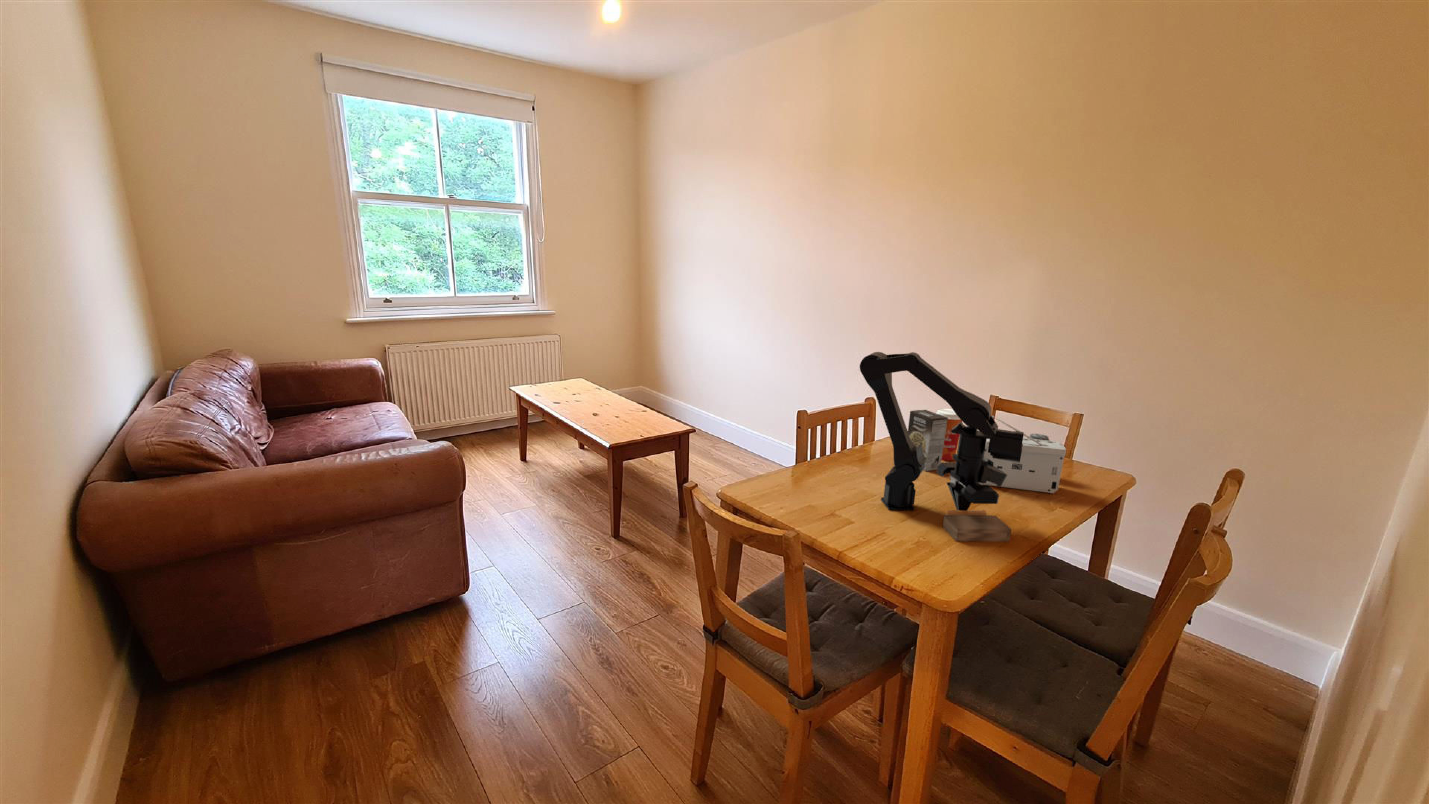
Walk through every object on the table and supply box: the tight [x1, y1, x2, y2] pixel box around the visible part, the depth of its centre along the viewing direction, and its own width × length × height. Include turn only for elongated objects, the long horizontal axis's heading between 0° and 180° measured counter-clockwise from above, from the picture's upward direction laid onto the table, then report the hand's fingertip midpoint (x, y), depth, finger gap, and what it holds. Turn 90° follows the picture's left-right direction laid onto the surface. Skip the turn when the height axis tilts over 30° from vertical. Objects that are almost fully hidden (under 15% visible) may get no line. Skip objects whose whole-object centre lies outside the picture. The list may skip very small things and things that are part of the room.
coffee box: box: [907, 409, 948, 472], centre depth 170 cm, size 9×6×16 cm
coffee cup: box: [935, 408, 963, 462], centre depth 177 cm, size 8×8×15 cm
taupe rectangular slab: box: [942, 514, 1012, 543], centre depth 128 cm, size 12×7×3 cm, turn 92°
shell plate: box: [945, 509, 987, 515], centre depth 130 cm, size 9×8×3 cm
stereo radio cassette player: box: [978, 415, 1067, 494], centre depth 156 cm, size 21×8×20 cm, turn 74°
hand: (961, 515), depth 135 cm, fingers closed
